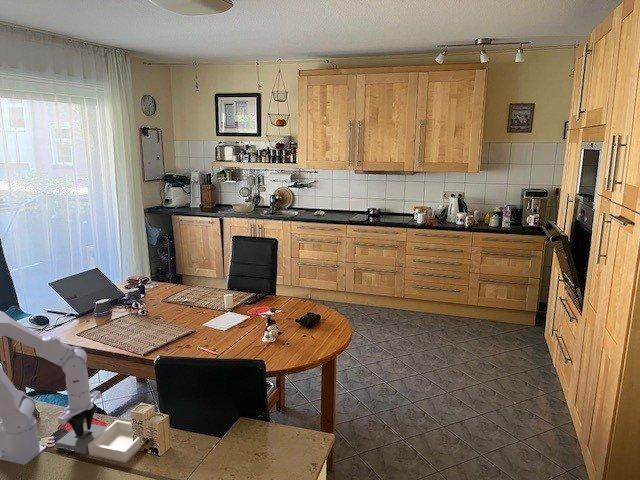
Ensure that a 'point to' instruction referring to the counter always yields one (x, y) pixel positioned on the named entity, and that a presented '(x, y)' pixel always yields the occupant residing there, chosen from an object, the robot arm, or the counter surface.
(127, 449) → the tray
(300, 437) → the counter surface
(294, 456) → the counter surface
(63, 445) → the lock plate
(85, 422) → the lock pin
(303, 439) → the counter surface
